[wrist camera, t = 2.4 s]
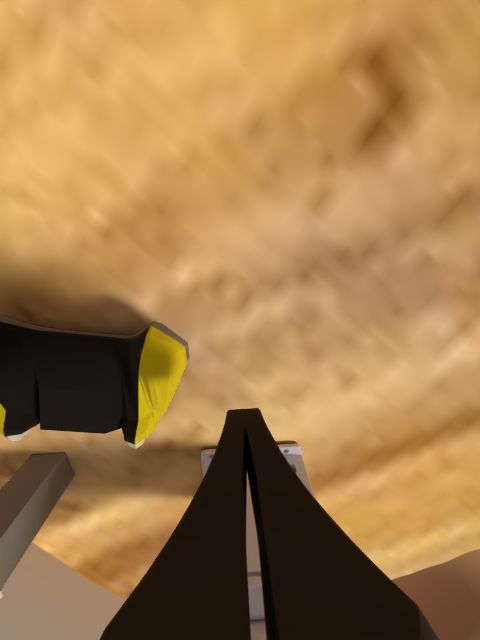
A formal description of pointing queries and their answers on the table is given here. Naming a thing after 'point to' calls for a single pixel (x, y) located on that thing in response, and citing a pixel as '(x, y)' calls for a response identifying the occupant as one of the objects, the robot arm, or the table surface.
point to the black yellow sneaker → (87, 379)
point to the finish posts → (29, 505)
